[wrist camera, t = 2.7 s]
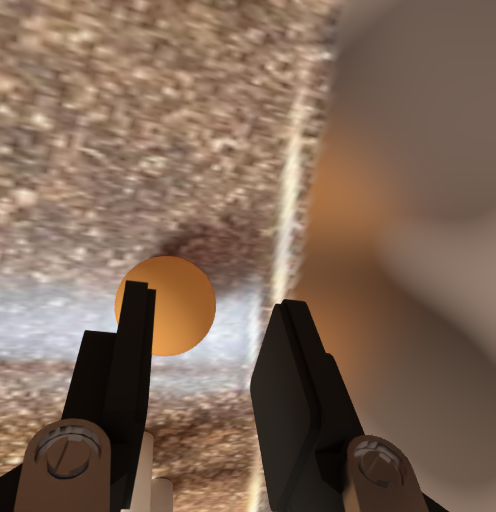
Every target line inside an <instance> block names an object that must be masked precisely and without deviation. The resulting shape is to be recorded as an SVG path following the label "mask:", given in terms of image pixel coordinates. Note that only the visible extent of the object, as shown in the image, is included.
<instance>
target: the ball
mask: <svg viewBox="0 0 496 512" xmlns="http://www.w3.org/2000/svg"><path fill="white" fill-rule="evenodd" d="M126 280H131V281H139V282H147V283H148V289H156V302H155V316H154V330H153V344H152V355H155V356H173V355H178V354H181V353H184V352H186V351H188V350H190V349H192V348H193V347H195V346H196V345H197V344H198V343H200V342H201V341H202V339H203V338H204V337H205V336H206V335H207V333H208V332H209V330H210V328H211V326H212V324H213V321H214V317H215V312H216V299H215V294H214V290H213V287H212V285H211V283H210V281H209V279H208V278H207V276H206V275H205V274H204V273H203V272H202V271H201V270H200V269H199V268H198V267H197V266H196V265H194V264H192V263H191V262H189V261H187V260H185V259H182V258H179V257H174V256H159V257H154V258H150V259H148V260H145V261H143V262H141V263H139V264H138V265H136V266H135V267H134V268H133V269H132V270H131V271H129V272H128V273H127V275H126V276H125V277H124V279H123V280H122V282H121V284H120V285H119V288H118V291H117V294H116V298H115V316H116V320H117V324H118V323H119V317H120V312H121V306H122V300H123V294H124V289H125V283H126Z"/></svg>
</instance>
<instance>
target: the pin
mask: <svg viewBox="0 0 496 512" xmlns="http://www.w3.org/2000/svg"><path fill="white" fill-rule="evenodd" d="M150 512H173V483H172V482H171V481H170V480H168V479H165V478H157V479H153V480H152V482H151V501H150Z"/></svg>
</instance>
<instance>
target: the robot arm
mask: <svg viewBox="0 0 496 512" xmlns="http://www.w3.org/2000/svg"><path fill="white" fill-rule="evenodd" d="M155 302H156V289H148V283H147V282H139V281H131V280H126V283H125V289H124V294H123V300H122V306H121V312H120V317H119V323H118V329H117V333H110V332H99V331H89V330H85V332H84V335H83V338H82V342H81V346H80V350H79V353H78V357H77V361H76V365H75V369H74V372H73V376H72V380H71V384H70V387H69V391H68V395H67V399H66V403H65V406H64V410H63V414H62V418H61V420H59V421H56V422H54V423H51V424H49V425H47V426H45V427H44V428H42V429H41V430H40V431H38V432H37V433H36V434H35V435H34V437H33V438H32V439H31V440H30V441H29V443H28V446H27V449H26V451H25V455H24V460H23V463H22V464H20V465H19V466H17V467H16V468H14V469H12V470H11V471H9V472H8V473H6V474H4V475H3V476H1V477H0V512H121V509H128V510H130V506H131V501H132V495H133V490H134V484H135V479H136V473H137V468H138V462H139V456H140V451H141V445H142V440H143V434H144V429H145V423H146V417H147V409H148V399H149V386H150V372H151V358H152V344H153V330H154V316H155ZM250 392H251V398H252V404H253V410H254V416H255V422H256V428H257V434H258V440H259V446H260V451H261V457H262V463H263V469H264V475H265V481H266V487H267V493H268V499H269V504H270V508H271V511H273V512H449V511H447V510H446V509H444V508H443V507H442V506H440V505H439V504H438V503H436V502H435V501H434V500H432V499H431V498H429V497H428V496H426V495H425V494H424V493H422V491H421V489H420V486H419V483H418V481H417V478H416V475H415V473H414V470H413V468H412V466H411V464H410V462H409V460H408V458H407V457H406V456H405V455H404V453H402V451H401V450H400V449H399V448H397V447H396V446H395V445H394V444H392V443H391V442H389V441H387V440H385V439H383V438H381V437H377V436H373V435H365V434H364V431H363V429H362V426H361V424H360V422H359V419H358V416H357V414H356V412H355V409H354V406H353V404H352V402H351V399H350V396H349V394H348V392H347V389H346V386H345V384H344V382H343V379H342V377H341V374H340V372H339V369H338V367H337V364H336V362H335V360H334V358H333V356H332V355H331V354H329V353H326V352H325V350H324V347H323V345H322V342H321V340H320V337H319V334H318V332H317V329H316V326H315V324H314V321H313V319H312V316H311V313H310V311H309V308H308V306H307V304H306V302H304V301H297V300H289V299H284V300H283V301H282V303H281V304H275V306H274V308H273V311H272V314H271V317H270V321H269V324H268V327H267V330H266V333H265V337H264V340H263V343H262V346H261V349H260V352H259V356H258V359H257V362H256V365H255V368H254V371H253V375H252V378H251V383H250Z"/></svg>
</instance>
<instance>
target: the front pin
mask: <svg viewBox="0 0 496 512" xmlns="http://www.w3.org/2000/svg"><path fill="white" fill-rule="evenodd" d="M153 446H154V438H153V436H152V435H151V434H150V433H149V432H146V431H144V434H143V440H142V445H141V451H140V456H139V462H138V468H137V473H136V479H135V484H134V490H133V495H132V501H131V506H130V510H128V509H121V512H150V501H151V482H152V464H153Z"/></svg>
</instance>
